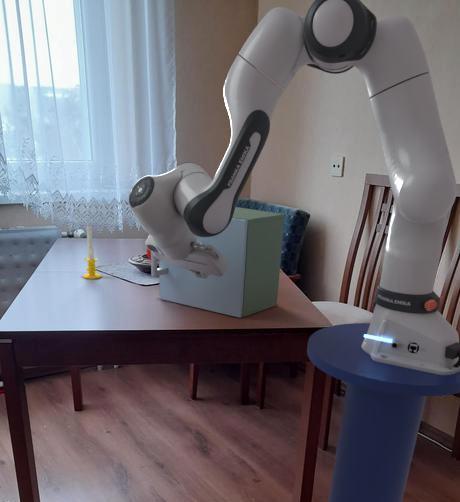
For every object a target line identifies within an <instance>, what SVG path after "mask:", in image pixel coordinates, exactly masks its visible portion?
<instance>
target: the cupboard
mask: <svg viewBox="0 0 460 502" xmlns="http://www.w3.org/2000/svg"><path fill="white" fill-rule="evenodd" d="M285 216H286V214H285V213H279V212H273V211H266V210H259V209H253V208H252V209H251V208H245V207H239V206H236V207H235V211H234V215H233V218H236V219H243V220H248V226H247V242H246V259H245V275H244V291H243V308H242V317H241V318H245V317H248V316H250V315H253V314H256V313H258V312H261V311H264V310H267V309H270V308H272V307H276V306H277V305H278V296H279V283H280V275H281V274H280V272H281V263H282V251H283V240H284V230H285Z"/></svg>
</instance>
